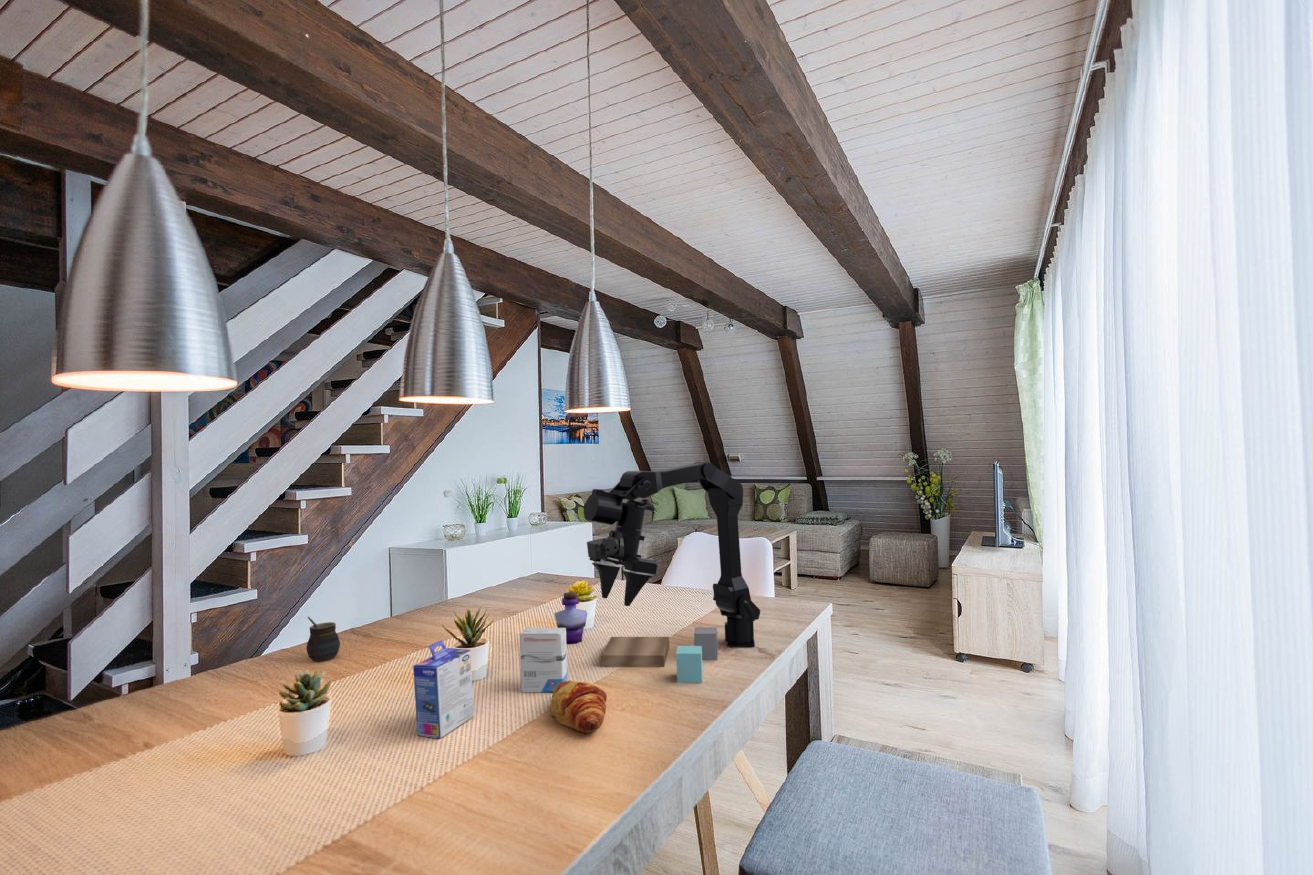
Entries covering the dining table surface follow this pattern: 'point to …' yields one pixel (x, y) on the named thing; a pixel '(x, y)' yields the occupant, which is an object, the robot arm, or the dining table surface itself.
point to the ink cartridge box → (443, 691)
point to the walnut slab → (635, 652)
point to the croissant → (579, 705)
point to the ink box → (543, 659)
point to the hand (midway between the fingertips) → (615, 601)
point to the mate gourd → (323, 641)
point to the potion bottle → (571, 618)
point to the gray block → (707, 642)
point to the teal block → (689, 664)
